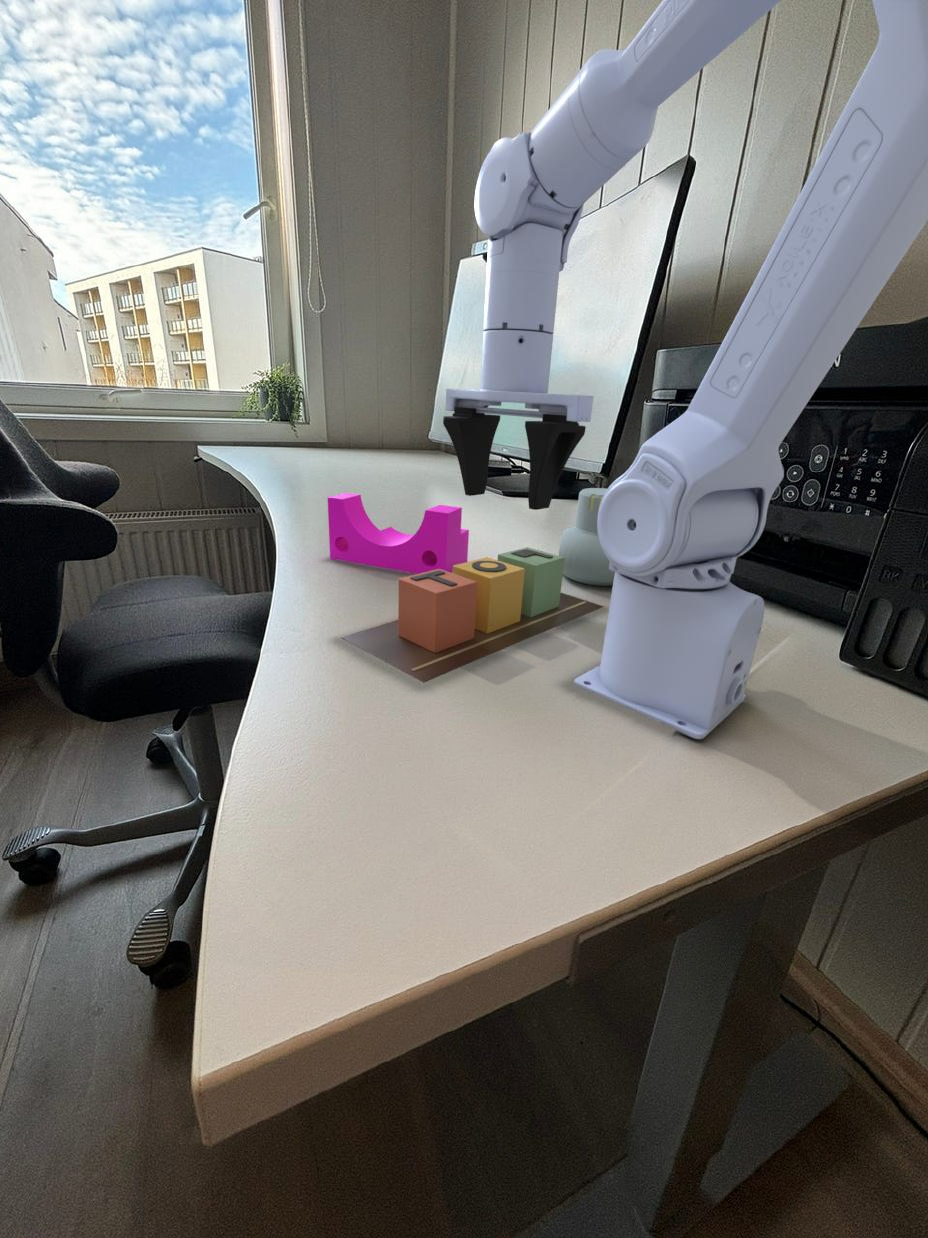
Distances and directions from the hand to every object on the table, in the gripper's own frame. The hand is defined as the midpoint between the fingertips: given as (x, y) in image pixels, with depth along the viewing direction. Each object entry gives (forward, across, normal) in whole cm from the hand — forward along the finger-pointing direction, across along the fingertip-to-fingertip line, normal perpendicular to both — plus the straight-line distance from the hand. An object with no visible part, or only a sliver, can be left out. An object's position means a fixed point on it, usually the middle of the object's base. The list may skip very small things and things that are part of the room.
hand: (505, 501), depth 51 cm
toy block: (+11, +17, -2) cm, 20 cm away
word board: (+10, -2, +4) cm, 11 cm away
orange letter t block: (+10, -2, +10) cm, 14 cm away
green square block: (+10, -2, -2) cm, 10 cm away
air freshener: (+11, -1, -16) cm, 19 cm away
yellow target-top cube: (+10, -2, +4) cm, 11 cm away
